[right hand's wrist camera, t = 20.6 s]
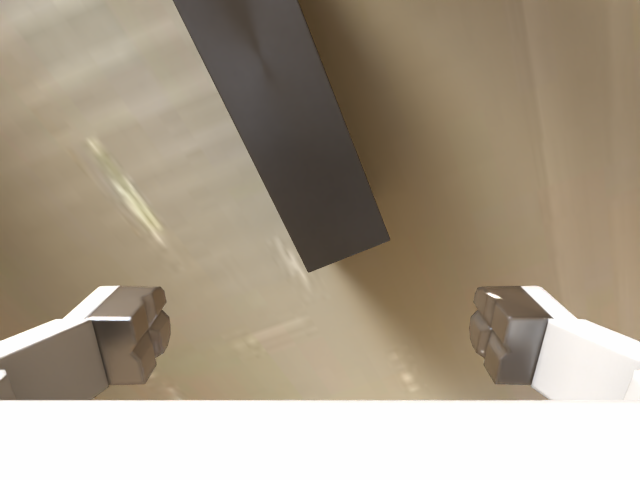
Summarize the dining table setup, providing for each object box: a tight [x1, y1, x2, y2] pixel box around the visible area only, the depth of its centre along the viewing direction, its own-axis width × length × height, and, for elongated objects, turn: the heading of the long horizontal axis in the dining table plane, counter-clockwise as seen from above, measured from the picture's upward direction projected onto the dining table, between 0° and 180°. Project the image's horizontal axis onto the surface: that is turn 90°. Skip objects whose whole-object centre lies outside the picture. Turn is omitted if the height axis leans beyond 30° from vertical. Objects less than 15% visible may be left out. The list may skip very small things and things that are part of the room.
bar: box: [173, 0, 390, 272], centre depth 24 cm, size 26×6×8 cm, turn 23°
